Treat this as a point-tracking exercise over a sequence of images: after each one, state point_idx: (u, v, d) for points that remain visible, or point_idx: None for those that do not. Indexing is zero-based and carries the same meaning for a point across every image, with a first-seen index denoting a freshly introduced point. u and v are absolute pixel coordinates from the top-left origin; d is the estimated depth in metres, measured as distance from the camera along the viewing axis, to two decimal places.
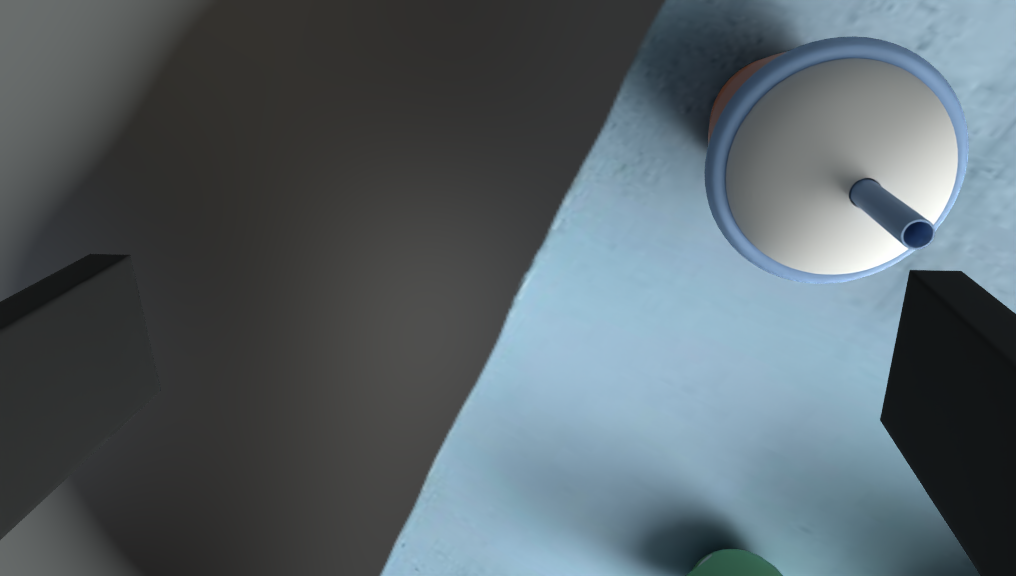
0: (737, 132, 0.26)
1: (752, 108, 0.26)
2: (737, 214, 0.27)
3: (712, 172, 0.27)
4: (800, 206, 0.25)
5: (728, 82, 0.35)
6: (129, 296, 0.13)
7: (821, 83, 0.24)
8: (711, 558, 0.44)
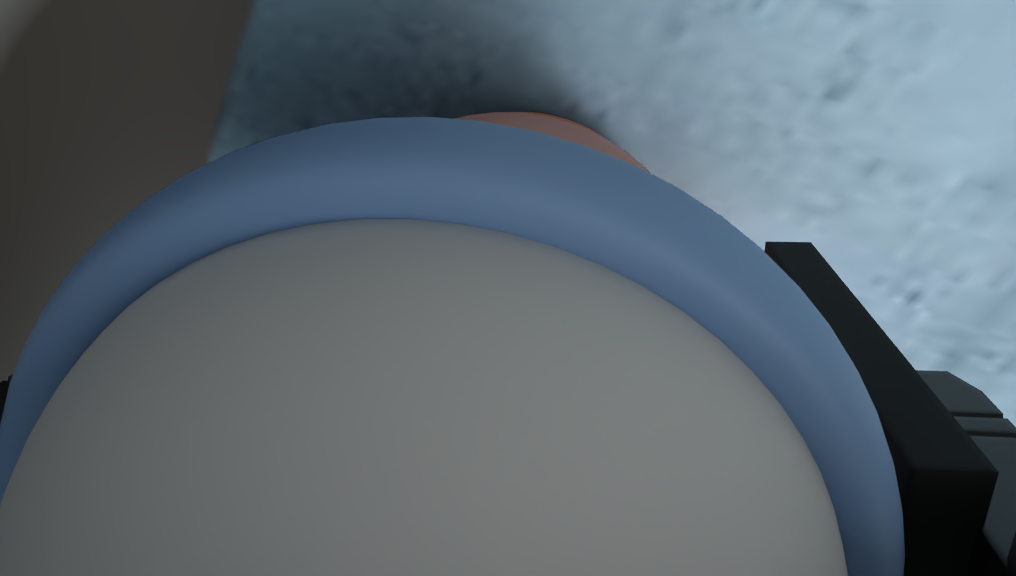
0: None
1: None
2: None
3: None
4: None
5: None
6: None
7: (174, 361, 0.05)
8: None
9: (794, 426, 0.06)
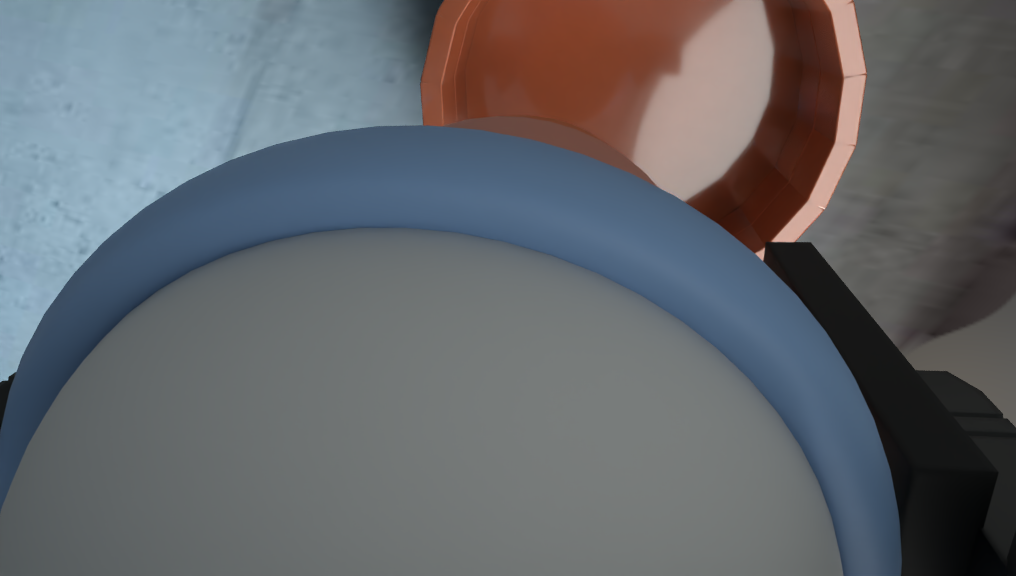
0: None
1: None
2: None
3: None
4: None
5: None
6: None
7: (174, 369, 0.05)
8: None
9: (791, 434, 0.06)
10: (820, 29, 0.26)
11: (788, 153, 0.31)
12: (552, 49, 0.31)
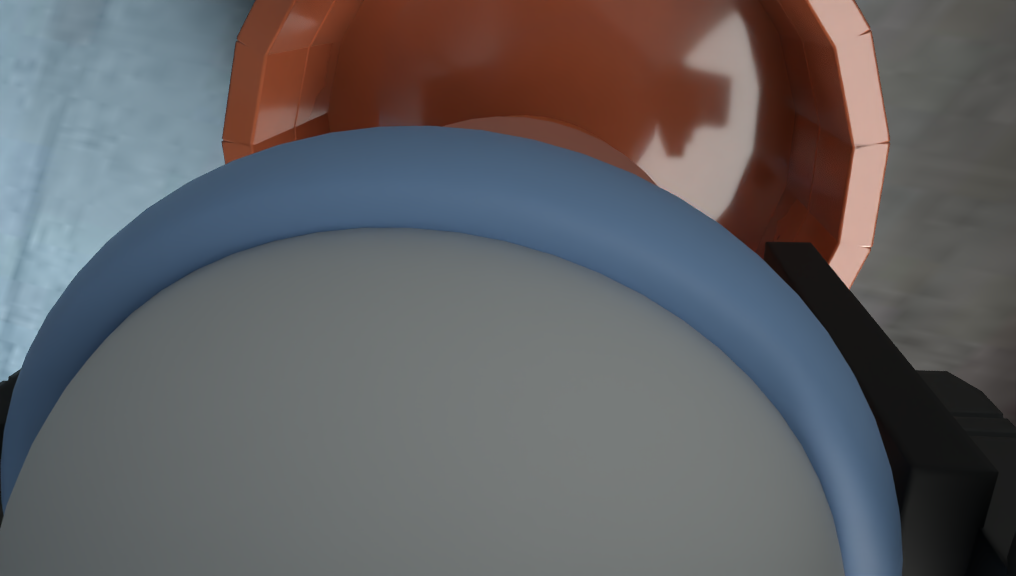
0: None
1: None
2: None
3: None
4: None
5: None
6: None
7: (177, 370, 0.05)
8: None
9: (792, 433, 0.06)
10: (819, 70, 0.17)
11: (773, 238, 0.22)
12: (445, 87, 0.22)
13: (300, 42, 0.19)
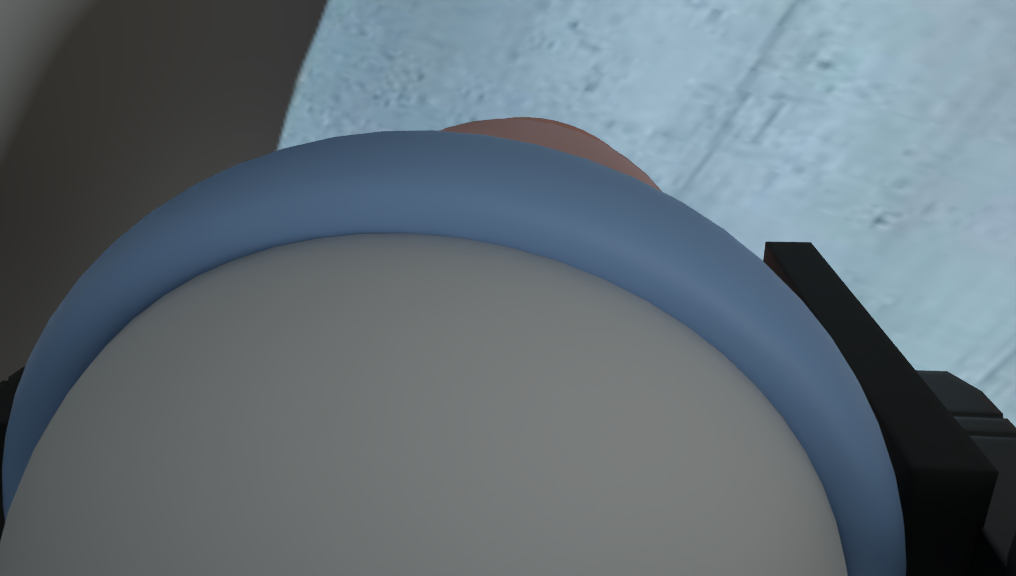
0: None
1: None
2: None
3: None
4: None
5: None
6: None
7: (179, 376, 0.05)
8: None
9: (796, 439, 0.06)
10: None
11: None
12: None
13: None
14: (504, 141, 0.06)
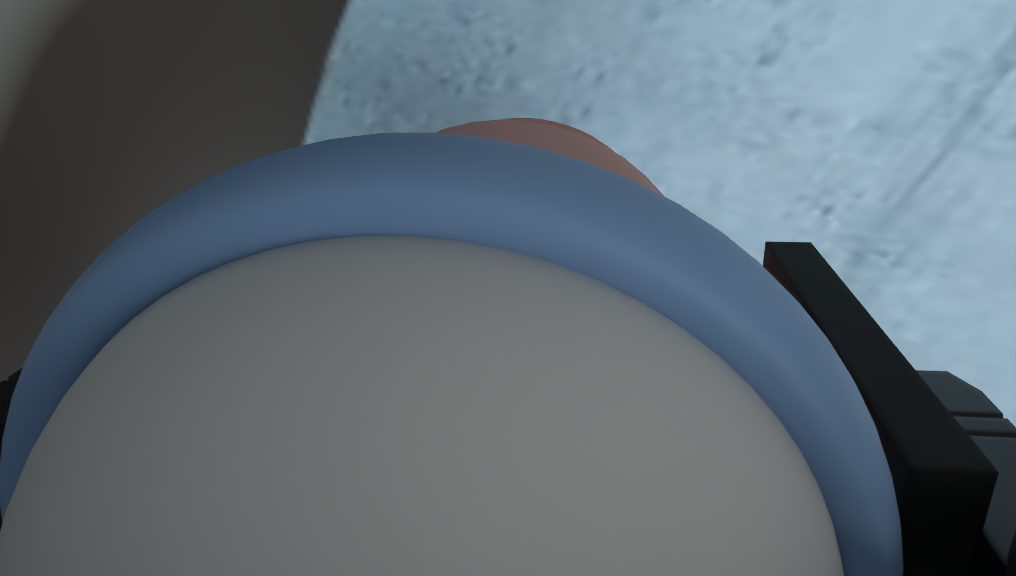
0: None
1: None
2: None
3: None
4: None
5: None
6: None
7: (177, 379, 0.05)
8: None
9: (793, 441, 0.06)
10: None
11: None
12: None
13: None
14: (501, 143, 0.06)
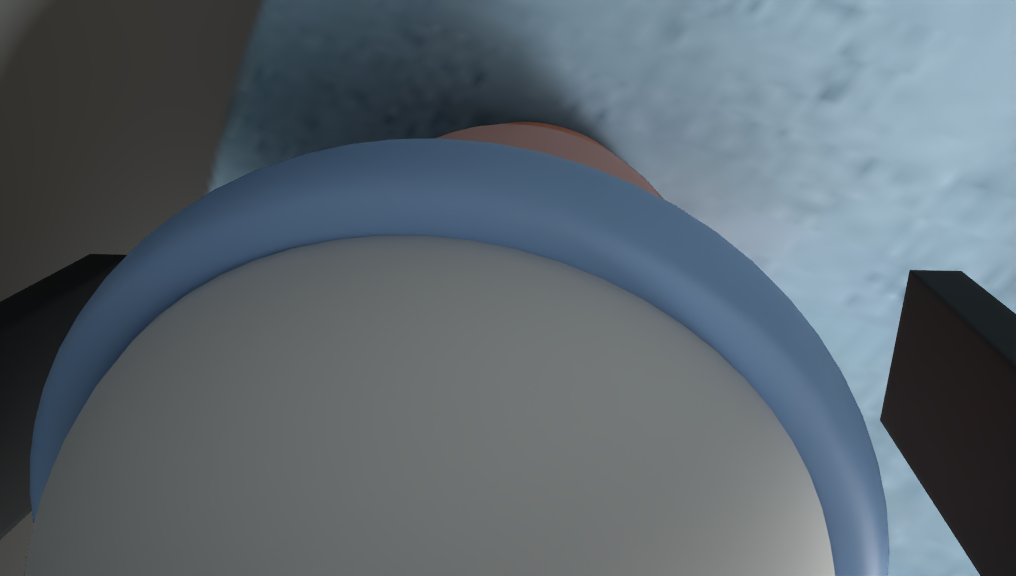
0: None
1: None
2: None
3: None
4: None
5: None
6: None
7: (208, 367, 0.05)
8: None
9: (784, 430, 0.06)
10: None
11: None
12: None
13: None
14: (510, 149, 0.06)
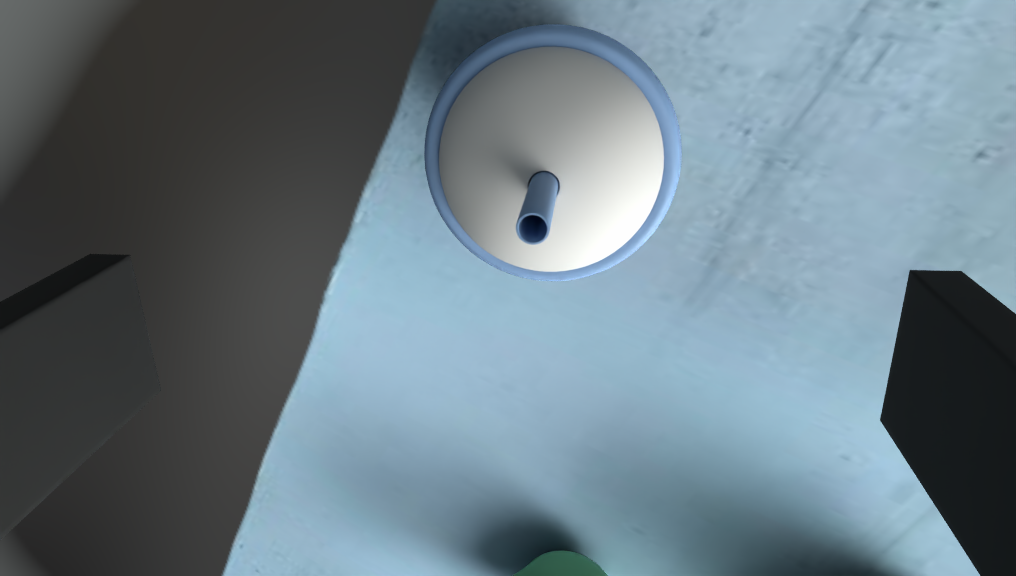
0: (444, 123, 0.25)
1: (456, 98, 0.25)
2: (450, 209, 0.26)
3: (427, 165, 0.26)
4: (487, 200, 0.24)
5: None
6: (129, 297, 0.13)
7: (508, 71, 0.24)
8: (536, 560, 0.43)
9: (647, 99, 0.24)
10: None
11: None
12: None
13: None
14: (575, 26, 0.25)
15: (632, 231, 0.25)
